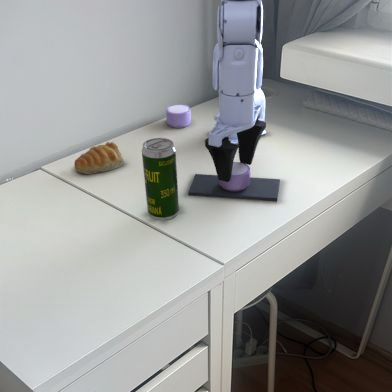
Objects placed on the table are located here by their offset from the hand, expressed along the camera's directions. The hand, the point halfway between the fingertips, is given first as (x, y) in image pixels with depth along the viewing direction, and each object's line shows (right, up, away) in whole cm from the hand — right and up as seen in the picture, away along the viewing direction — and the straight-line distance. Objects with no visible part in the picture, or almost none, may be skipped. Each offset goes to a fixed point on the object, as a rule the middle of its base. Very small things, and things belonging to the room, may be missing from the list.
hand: (235, 171), depth 90 cm
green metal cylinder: (-13, -8, -3) cm, 15 cm away
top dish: (0, -2, +2) cm, 3 cm away
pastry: (-26, +4, +10) cm, 28 cm away
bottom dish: (-11, +19, +24) cm, 33 cm away
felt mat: (0, -2, +2) cm, 3 cm away
